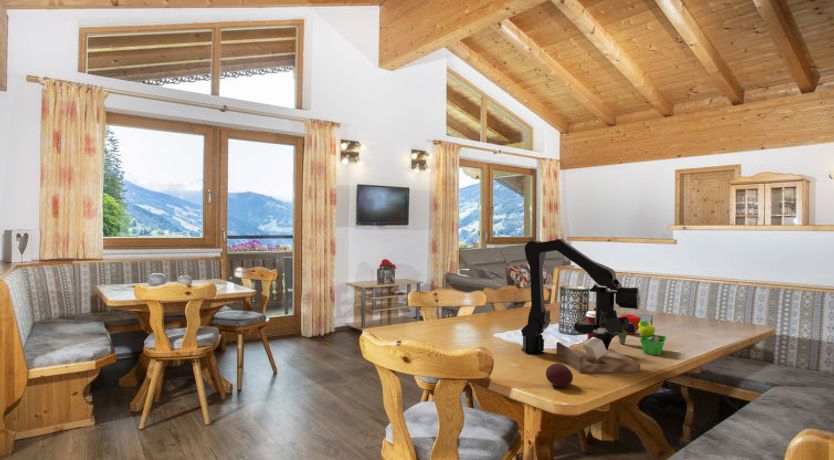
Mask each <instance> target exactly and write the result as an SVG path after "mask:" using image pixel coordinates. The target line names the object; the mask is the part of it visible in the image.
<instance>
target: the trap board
mask: <svg viewBox="0 0 834 460" xmlns="http://www.w3.org/2000/svg"><path fill="white" fill-rule="evenodd" d="M555 356H556V357H557V359H559V360H560V361H562V362H564V363H565V364H567V365H568V366H569V367H571V368H572V369H574V370H575V371H577V372H578V373H580V374H581V373H588V374H589V373H625V372H626V373H629V372H630V371H633V372H641V363H640V362H637V361H636V360H634V359H632V358H630V357H628V356H626V355H624V354H621V353H620V352H618V351H616V350H614V349H612V348H608V350H607V352H606V353H605V354H604V355H602V356H601V357H600V358H598V359H595V358H592V357H590V356H588V355H587V353H586V350H585V348H582V349H577V348H576V349H571V348H569V347H568V346H566V345H565V344H563V343H561V342H559V341H556V355H555Z"/></svg>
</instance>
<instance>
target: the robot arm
mask: <svg viewBox="0 0 834 460" xmlns="http://www.w3.org/2000/svg"><path fill="white" fill-rule="evenodd" d="M555 251H557V252H558V253H560V254H561V255H562V256H564V257H566V258H567V259H568V260H569V261H570V262H573V263H574V264H575V265H577V266H578V267H579V268H581V269H583V270H584V271H585V272H586V273H587V274H588V276H589V277H590V278H591V280H593V281H594V282H595V283H596V284H593V286H592V287H591V288H590V289H589V292H591V293H593V292H594V293H595V307H593V311H596V316H595V320H594V323H595V324H590V323H588V322H587V321H576V322H575V323H574V324H573V330H574V331H576V332H578V333H580V334H584V335H585V334H589V333H593V334H594V335H595V337H596V338H597V339H600V340H602V341H603V343H604V346H605V348H606V350H608V349H609V347H610V345H611V342H612V340H613V338H615V337H616V336H618V335H619V334H618V333H622V332H623V330H625V331H626V332H627V333H634V334H636V333H635V325H634V324H633V323H630V322H629V319H628V318H627V317H618V314H617V313H618V312H617V310H615V305H616V306H618V307H619V308H621V309H631V310H632V309H633V310H639V309H640V303H641V296H640V292H639V287H635V286H633V287H628V286H627V287H625V286H623V285H622V284H621V283H620V281H619V280H618V279H617V274H616V271H615V270H614V269H612V268H611V267H608V266H606V265H604V264H602V263H599V262H597V261H594V260H592V259H591V258H590V257H588V256H587V255H585V254H584V253H582V252H581V251H579V250H578V249H576V248H575V247H574V246H572V245H570V244H569V243H567V242H566V241H565V239H562V238H555V239H553V240H547V241H541V240H530V241H528V242H527V243H526V244H525V245H524V254H525V255H524V256H525V259H526V261H527V264H528V265H529V277H530V278H529V279H530V284H529V285H530V310H529V313H528V317H527V323H526V325H525V326H524V327H523V328H521V330H520V332H521V335H522V347H520V350H521V351H523V352H524V353H525V354H526V355H541V354H542V355H543V354H545V352H544V350H545V339H544V338H543V336H544V335H543V334H544V332H545V330H546V329H548V327H549V326H550V323H551V322H552V320H551V310H550V309H548V310H547V308H546V306H545V294H544V293H545V292H544V270H543V267H544V262H545V259H546V255H547V254H546V253H548V252H555Z"/></svg>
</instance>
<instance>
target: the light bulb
mask: <svg viewBox="0 0 834 460" xmlns="http://www.w3.org/2000/svg"><path fill="white" fill-rule="evenodd" d="M618 334H619V335H617V338H618V343H619V344H620V345H624V344H625V343H626V340H627V339H626V338H627V336H628V334H627V332H626V331H625V330H623V332H622V333H618Z"/></svg>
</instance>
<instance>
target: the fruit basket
mask: <svg viewBox="0 0 834 460" xmlns="http://www.w3.org/2000/svg"><path fill="white" fill-rule="evenodd" d="M638 326H639V329H638V333H639V335H640V336H641V337H640V338H639V340H640V343H641V347H642V351H643V354H644V355H645V354H646V355H651V356H652V355H653V356H660V355H661V353H662V350H663V348H664V346H665V345H664V344H665V341H666V339H667V336H666V335H658V334H656V333H655V332H656V328H655V326H653V325H652V324H650V322H648V321H647V320H646V319H641V320H640V323H639V324H638Z"/></svg>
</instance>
